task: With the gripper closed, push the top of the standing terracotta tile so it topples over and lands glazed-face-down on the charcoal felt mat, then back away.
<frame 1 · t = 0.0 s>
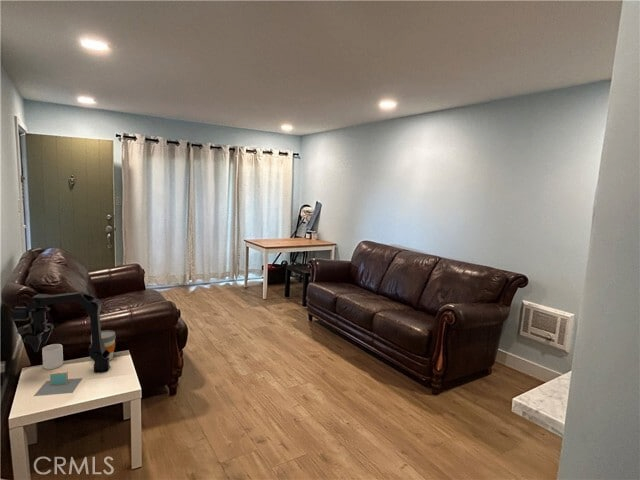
hand: (40, 348, 189), 15 cm above the table, fingers open, 9 cm apart
mug: (52, 365, 201), on the table
mat: (59, 387, 180), on the table
reusable coffee cup: (103, 359, 211), on the table
tile: (59, 383, 183), point 1 cm above the table, touching mat
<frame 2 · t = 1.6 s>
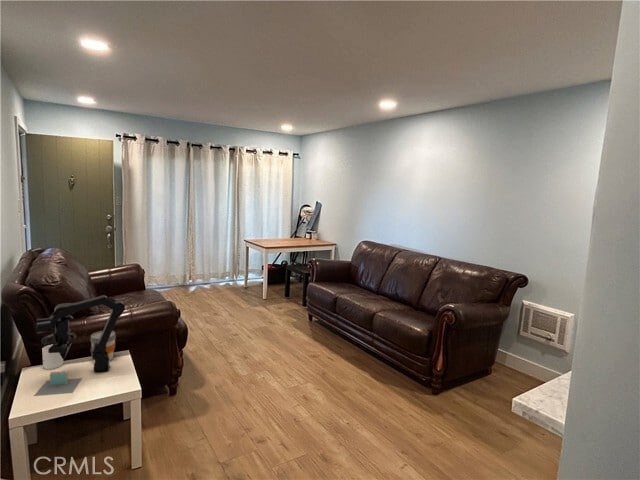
hand: (63, 358, 187), 11 cm above the table, fingers closed
nothing on the table moved.
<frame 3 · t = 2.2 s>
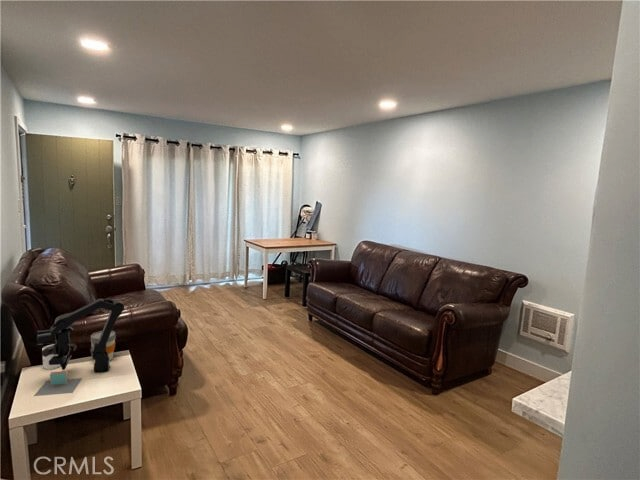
hand: (63, 369, 188), 5 cm above the table, fingers closed
nothing on the table moved.
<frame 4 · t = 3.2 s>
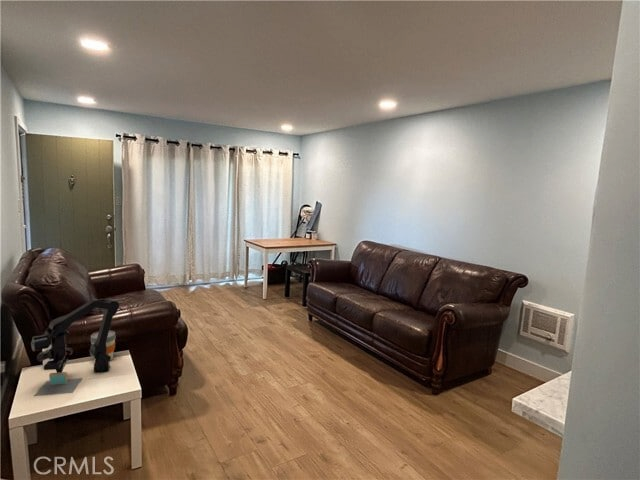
hand: (59, 374, 183), 5 cm above the table, fingers closed
tile: (59, 383, 183), point 1 cm above the table, tilted 11°, touching gripper, mat
everything else where it was.
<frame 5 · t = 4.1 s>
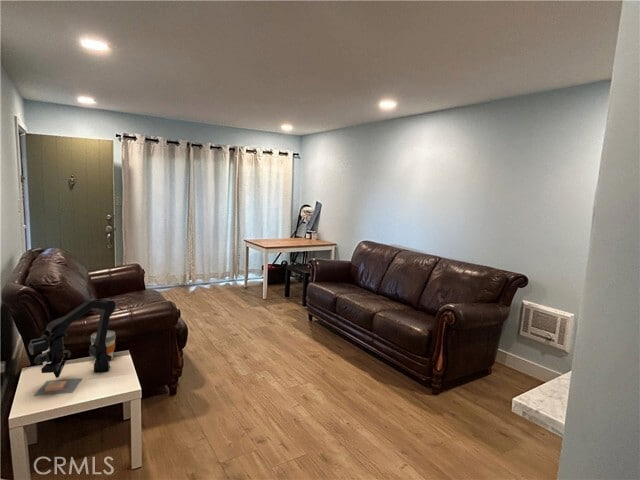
hand: (57, 377, 180), 5 cm above the table, fingers closed
tile: (58, 382, 182), point 1 cm above the table, tilted 90°, touching mat
everything else where it was.
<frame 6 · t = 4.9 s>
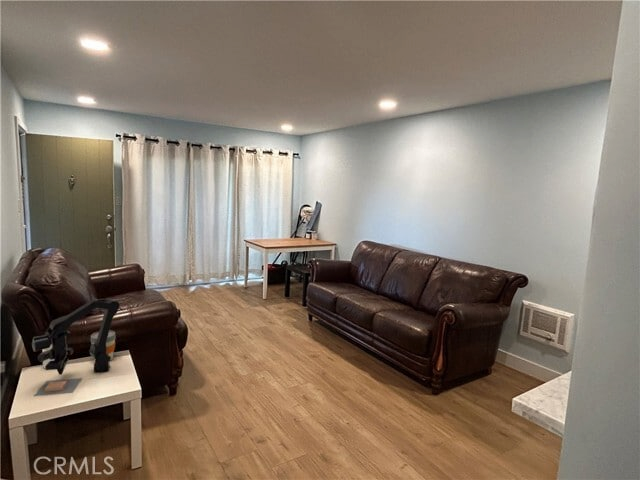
hand: (60, 374, 183), 5 cm above the table, fingers closed
nothing on the table moved.
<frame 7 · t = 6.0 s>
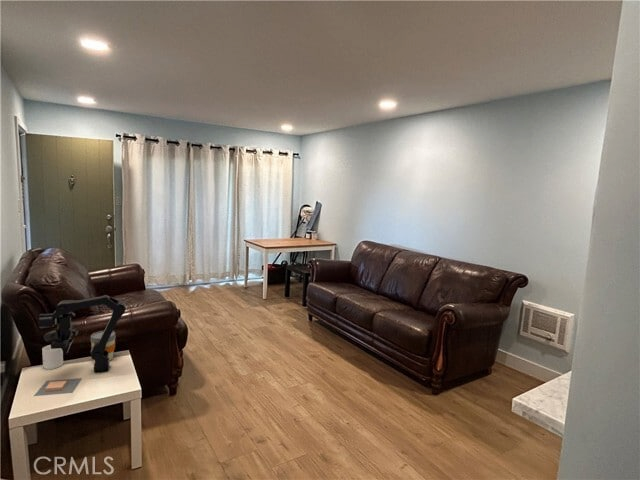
hand: (65, 354, 190), 12 cm above the table, fingers closed
nothing on the table moved.
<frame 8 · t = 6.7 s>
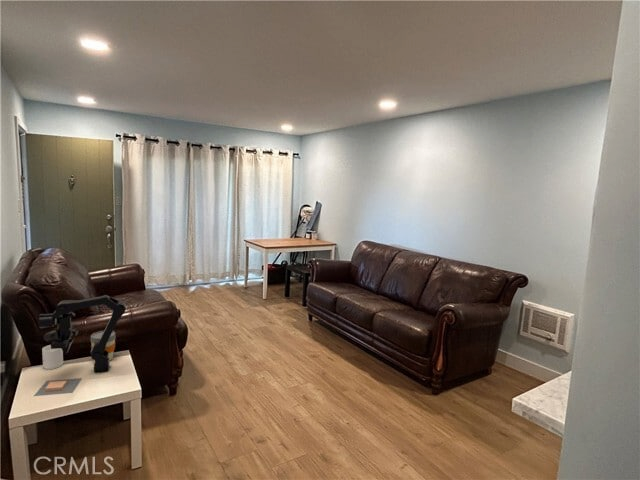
hand: (65, 354, 190), 12 cm above the table, fingers closed
nothing on the table moved.
at the end: tile tilted 90°; tile inside the target area on the mat (2.3 cm from its centre), point 1.5 cm above the mat's base; tile touching mat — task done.
